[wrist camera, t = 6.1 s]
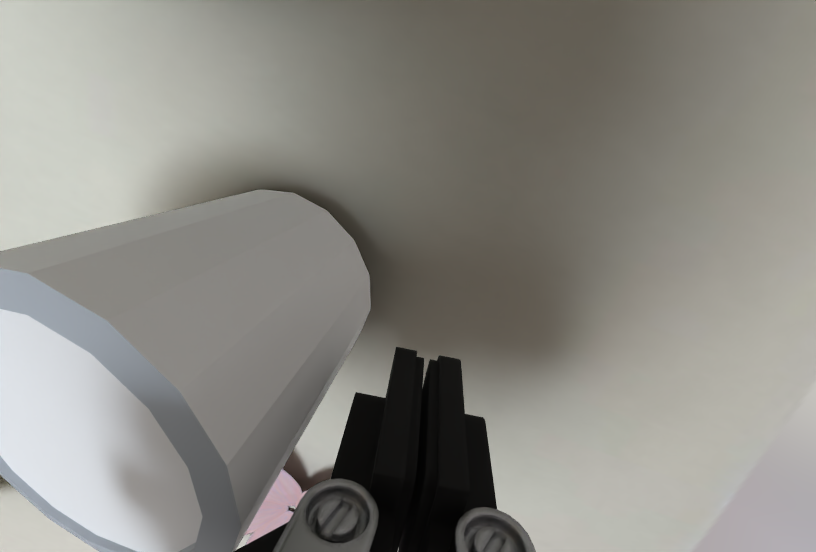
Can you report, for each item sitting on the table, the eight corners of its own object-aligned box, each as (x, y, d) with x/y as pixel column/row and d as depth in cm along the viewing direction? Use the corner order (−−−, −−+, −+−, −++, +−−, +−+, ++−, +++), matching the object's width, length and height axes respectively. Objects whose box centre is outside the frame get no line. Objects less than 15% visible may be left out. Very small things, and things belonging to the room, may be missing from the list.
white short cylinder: (413, 207, 11) (236, 367, 5) (372, 400, 14) (235, 635, 8) (188, 139, 12) (-160, 204, 6) (198, 330, 16) (-28, 492, 10)
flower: (360, 386, 16) (352, 416, 14) (444, 560, 19) (444, 598, 18) (138, 439, 18) (112, 470, 16) (252, 588, 21) (239, 623, 20)
